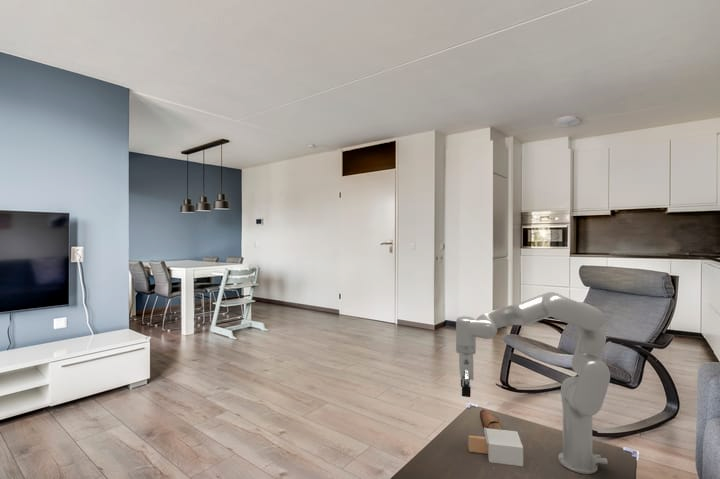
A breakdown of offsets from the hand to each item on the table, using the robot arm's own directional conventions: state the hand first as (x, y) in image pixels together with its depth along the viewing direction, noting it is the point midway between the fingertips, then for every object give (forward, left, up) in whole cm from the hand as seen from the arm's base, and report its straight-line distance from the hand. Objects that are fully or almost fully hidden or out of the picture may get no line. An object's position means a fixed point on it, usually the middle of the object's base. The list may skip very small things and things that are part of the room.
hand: (465, 391), depth 148 cm
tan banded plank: (-8, 0, -23) cm, 24 cm away
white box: (-14, 0, -24) cm, 27 cm away
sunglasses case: (-13, -24, -24) cm, 36 cm away
